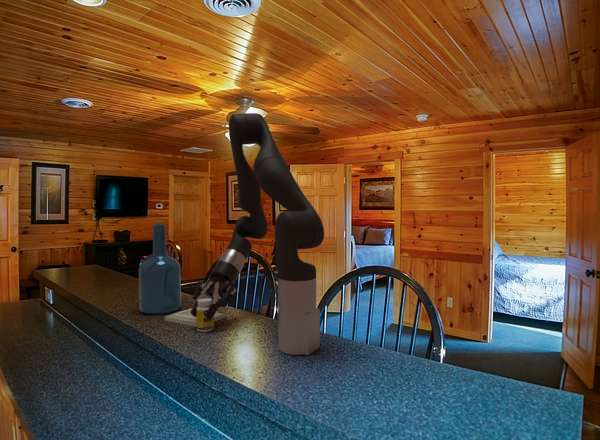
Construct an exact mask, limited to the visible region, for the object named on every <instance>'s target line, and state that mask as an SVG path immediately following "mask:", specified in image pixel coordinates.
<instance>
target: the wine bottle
mask: <svg viewBox="0 0 600 440" xmlns="http://www.w3.org/2000/svg"><path fill="white" fill-rule="evenodd" d="M152 227H153V228H152V234H151V235H152V237H153V238H152V254H150V255H148V256H147V257H145V258H144V259H143V260H140V262H139V265H138V266H139V267H138V296H139V297H138V301H139V302H138V303H139V304H138V305H139V306H138V307H139V311H140V312H141V313H143V314H147V315H164V314H169V313H174V312H176V311H178V310H180V308H181V306H182V299H181V295H182V294H181V293H182V291H181V290H182V289H181V288H182V286H181V285H182V284H181V278H182V277H181V264H180V263H179V261H178V260H177V259H175V258H174V257H171V256H170V255H169V254H168V253H167V229H166V224H164V220H155V221H154V224H153V226H152Z"/></svg>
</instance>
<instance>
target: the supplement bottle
mask: <svg viewBox="0 0 600 440" xmlns="http://www.w3.org/2000/svg"><path fill="white" fill-rule="evenodd" d="M212 302H213V298H211V299H210V298H204V297H203V298H202V299H199V300H198V307H197V309H196V321H197V327H196V331H197V332H200V333H201V332H203V333H206V332H211V331H212V330H214V328H215V322H214V316H213V317H212V318H211V320H209V319H207V318H206V317H205V314H206V312H207V310H208V309H209V307H210V305H211V304H213V303H212Z"/></svg>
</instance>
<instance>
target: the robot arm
mask: <svg viewBox="0 0 600 440" xmlns="http://www.w3.org/2000/svg"><path fill="white" fill-rule="evenodd" d="M228 136H229V142H230V148H231V153H232V157H233V163H234V168H235V174H236V178H237V188H238V189H237V190H238V202H239V203H238V204H239V205H238V206H239V209H241V210H242V211H244V212H246V213H248V214H249V215H250V216H247V215H243V216H240V217H239V218H238V219H237V220H236V221H235V224H234V229H233V233H232V236H231V239H230V242H229V244H227V247H226V249H224V251H223V253H222V254H221V255H220V257H219V258H218V260H217V261H216V263H215V265H214V267H213V269H212V270H211V272H210V278H209V279H208V280H207V281H206V282H205V283H204V282H203V283H202V282H201V281H199V282H197V284H196V287H195V289H194V293H193V294H192V299H193V300H194V302H195V303H194V305H193V306H192V310H191V314H192V315H193V316H194V317H196V309H197V307H198V300H199V299H204V298H210V299H212V304H211V305H210V307H209V309H208V310H207V312H206V314H205V317H206V318H207V319H209V320H211V318H212V317H213V316H214V314H215V313H216V311H217V312H218V310H219V309H220V308H226V307H227V306H228V304H229V303H230V302H231V301H232V300H233V298H234V297H235V296H236V294H237V293H238V291H237V289H236V288H235V287H234V284H235V282H236V280H237V279H238V277H239V275H240V273H241V271H242V270H243V268H244V267H245V266H244V265H245V262H246V260H247V259H248V257H249V255H250V254H251V251H252V248H253V246H252V245H253V244H252V243H251V241H250V240H248V239H255V240H262V239H264V238H265V237H266V236H267V233H268V231H269V225H268V221H267V220H268V219H267V218H266V215H265V211H264V207H263V205H262V193H261V192H262V191H263V193H264V194H265V195H267V196H268V198H271V199H272V200H274V201H275V202H276V203H277V204H279V205H280V206H281V207H283V208H284V209H285V210H286V211H282V212H280V213H278V215H277V217H276V219H275V224H274V243H275V244H274V245H275V263H276V269H277V305H278V308H277V310H278V311H277V312H278V314H277V316H278V318H277V319H278V320H277V323H278V324H277V327H278V328H277V329H278V331H277V332H278V333H277V335H278V336H277V337H278V339H277V340H278V343H277V344H278V350H279V351H280V352H281V353H284V354H286V355H294V356H299V355H303V356H310V355H311V354H313V353H314V352H315V351H317V350H318V349H320V348H321V345H320V344H321V339H320V338H321V336H320V331H321V325H320V324H321V323H320V322H321V314H320V313H321V310H320V308H318V307H317V268H316V265H314V264H312V263H309V262H305V261H303V260H301V258H300V257H299V253H298V250H308V249H310V250H311V249H315V248H318V247H319V246H321V245H322V243H323V242H324V238H325V229H324V224H323V221H322V219H321V217H320V215H319V213H318V211H316V209H315V208H314V207H313V205H312V204H311V202H310V201H309V200H308V198H307V197H306V195H305V194H304V192H303V190H302V189H301V188H300V186H299V184H298V182H297V181H296V179H295V177H294V175H293V174H292V172H291V169H290V167H289V166H288V164H287V162H286V160H285V158H284V157H283V156H282V154H281V152H280V150H279V148H278V146H277V145H276V143H275V140H274V138H273V136H272V132H271V130H270V128H269V126H268V123H267V121H266V119H265V117H264V116H263V115H262V114H261V113H256V112H253V113H251V112H249V113H247V112H246V113H233V114H231V115H230V117H229V120H228ZM245 145H258V146H259V150H258V153H257V154H256V156H255V158H254V163H253V165H252V166H253V168H252V167H251V166H250V164H249V163H248V161H247V158H246V156H245V154H244V147H243V146H245ZM247 238H248V239H247Z"/></svg>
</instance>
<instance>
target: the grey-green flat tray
mask: <svg viewBox="0 0 600 440" xmlns="http://www.w3.org/2000/svg"><path fill="white" fill-rule="evenodd" d="M192 308H193V307H192ZM192 308H188V309H185V310H182V311H177V312H175V313H172V314H169V315H166V316H164V321H166V322H171V323H174V324H175V323H176V324H181V325H185V326H191V327H195V328H197V321H196V317H194V316H193V315H192V314H191V310H192ZM223 319H225V313H220V312H218V310H217V311H216V313H215V314H214V323H215V322H217V321H220V320H223Z"/></svg>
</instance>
